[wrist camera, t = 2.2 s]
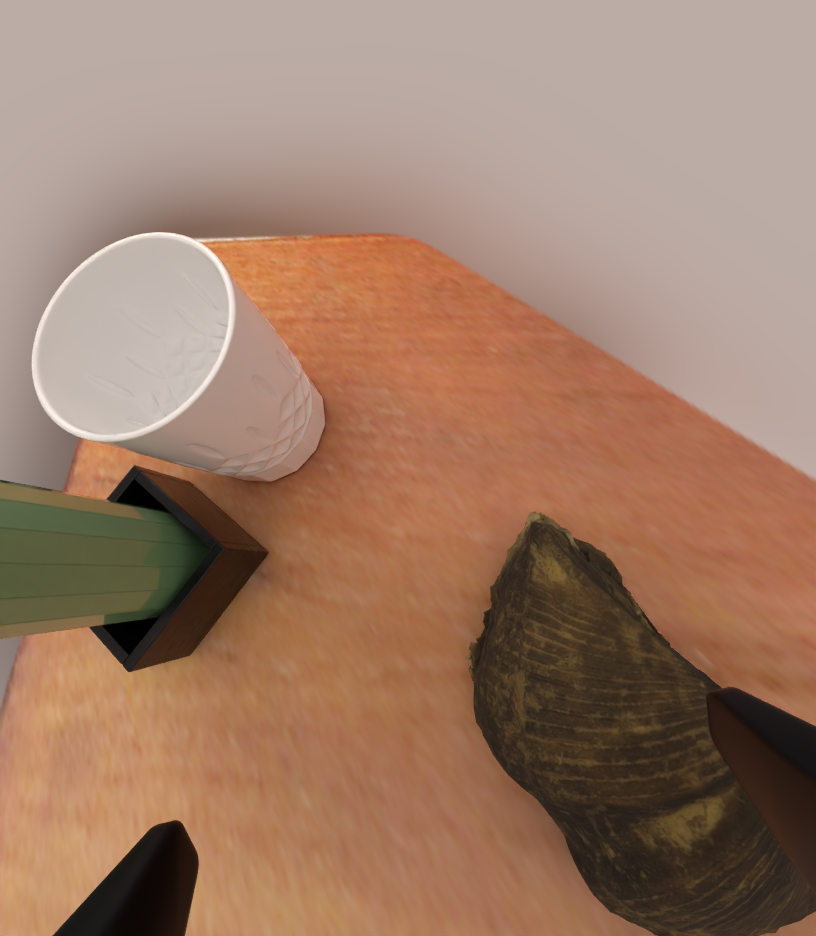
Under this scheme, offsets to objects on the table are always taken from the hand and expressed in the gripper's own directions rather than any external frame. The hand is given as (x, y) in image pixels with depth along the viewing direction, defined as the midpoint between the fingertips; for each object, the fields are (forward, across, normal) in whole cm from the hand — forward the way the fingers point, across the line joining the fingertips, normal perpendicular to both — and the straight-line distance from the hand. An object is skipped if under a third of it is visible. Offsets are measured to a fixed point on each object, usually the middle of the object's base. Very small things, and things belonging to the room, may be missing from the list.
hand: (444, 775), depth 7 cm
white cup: (+19, +7, -5) cm, 21 cm away
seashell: (+10, -6, +10) cm, 15 cm away
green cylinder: (+16, +12, +1) cm, 20 cm away
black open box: (+16, +12, +1) cm, 20 cm away
